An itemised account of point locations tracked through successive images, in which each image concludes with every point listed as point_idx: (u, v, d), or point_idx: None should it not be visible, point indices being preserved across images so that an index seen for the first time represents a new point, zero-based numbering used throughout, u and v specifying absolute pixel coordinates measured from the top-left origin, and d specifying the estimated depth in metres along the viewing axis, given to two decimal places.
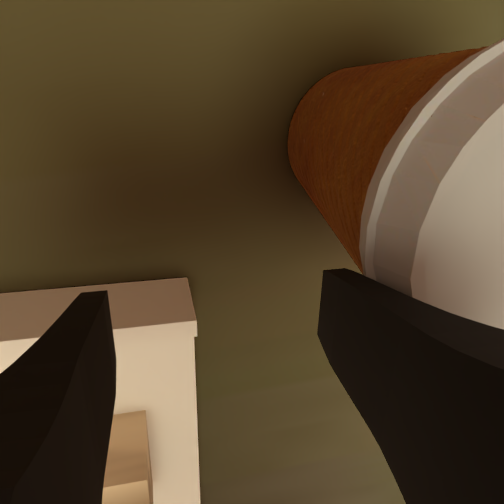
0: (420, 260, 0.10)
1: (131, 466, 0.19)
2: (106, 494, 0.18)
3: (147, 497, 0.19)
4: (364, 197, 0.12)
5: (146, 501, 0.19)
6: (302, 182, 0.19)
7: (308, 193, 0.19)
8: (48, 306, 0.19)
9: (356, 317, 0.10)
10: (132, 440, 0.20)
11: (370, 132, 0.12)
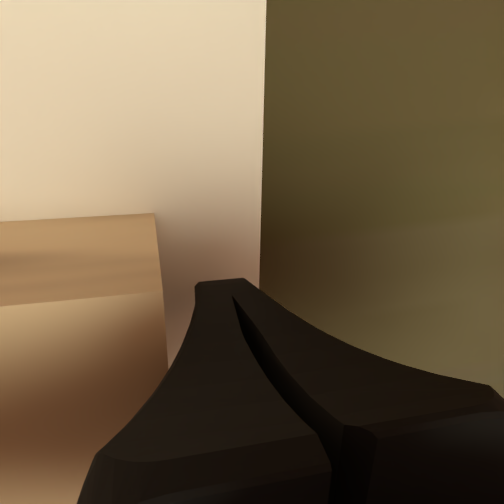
0: None
1: (123, 272, 0.08)
2: (64, 324, 0.07)
3: (162, 342, 0.08)
4: None
5: (160, 352, 0.08)
6: None
7: None
8: None
9: None
10: (126, 242, 0.09)
11: None
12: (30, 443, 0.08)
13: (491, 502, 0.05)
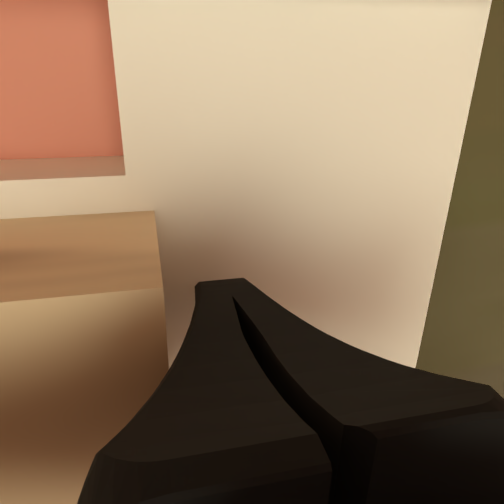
0: None
1: (124, 269, 0.08)
2: (64, 320, 0.07)
3: (163, 339, 0.08)
4: None
5: (160, 348, 0.08)
6: None
7: None
8: None
9: None
10: (127, 239, 0.09)
11: None
12: (30, 441, 0.08)
13: (491, 502, 0.05)
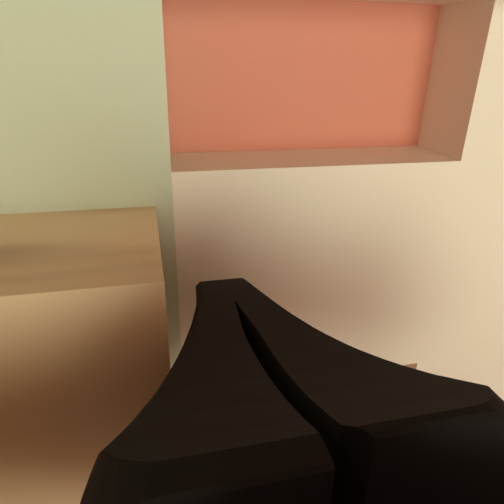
0: None
1: (125, 264, 0.08)
2: (65, 315, 0.07)
3: (164, 334, 0.08)
4: None
5: (161, 343, 0.08)
6: None
7: None
8: None
9: None
10: (128, 234, 0.09)
11: None
12: (30, 436, 0.08)
13: (489, 503, 0.05)
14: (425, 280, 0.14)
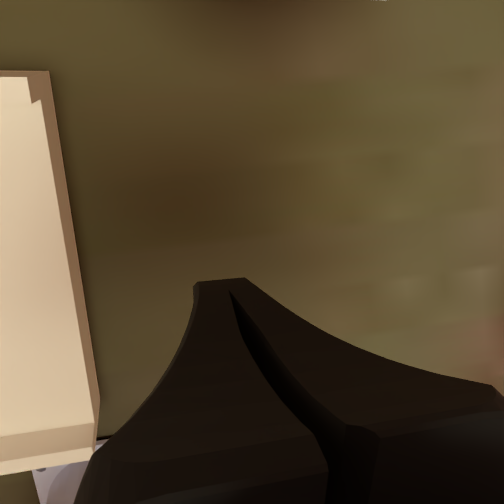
0: None
1: None
2: None
3: None
4: None
5: None
6: None
7: None
8: None
9: (239, 331, 0.10)
10: None
11: None
12: None
13: (493, 502, 0.05)
14: None
